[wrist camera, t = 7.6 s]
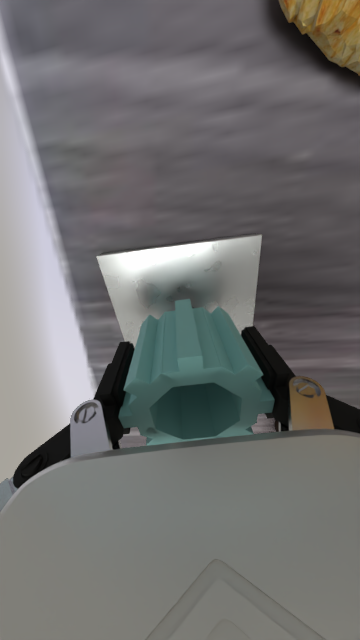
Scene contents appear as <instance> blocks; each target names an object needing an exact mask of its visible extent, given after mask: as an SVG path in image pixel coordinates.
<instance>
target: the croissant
mask: <svg viewBox="0 0 360 640" xmlns="http://www.w3.org/2000/svg"><path fill="white" fill-rule="evenodd" d="M279 3H280V6H281V9H282V11H283V13H284V15H285V17H286V19H287V21H288V23H291V22H294V23H295V25H296V26H297V27H298V29H299V30H300V32H301V33H302V34H305V33H307V34H308V35H309V37H310V38H311V39H312V40H313V41H314V42H315V44H316V45H317V46H318V47H319V48H320V50H321V51H322V52H323V53H324V55H325V56H326V57H327V58H328V60H330V61H332V62H334V63H337V64H338V65H339V66H340V67H345V66H346V67H347V68H349V69H350V70H352V71H354V72H356V73H357V74H358V76H360V0H279Z"/></svg>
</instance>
